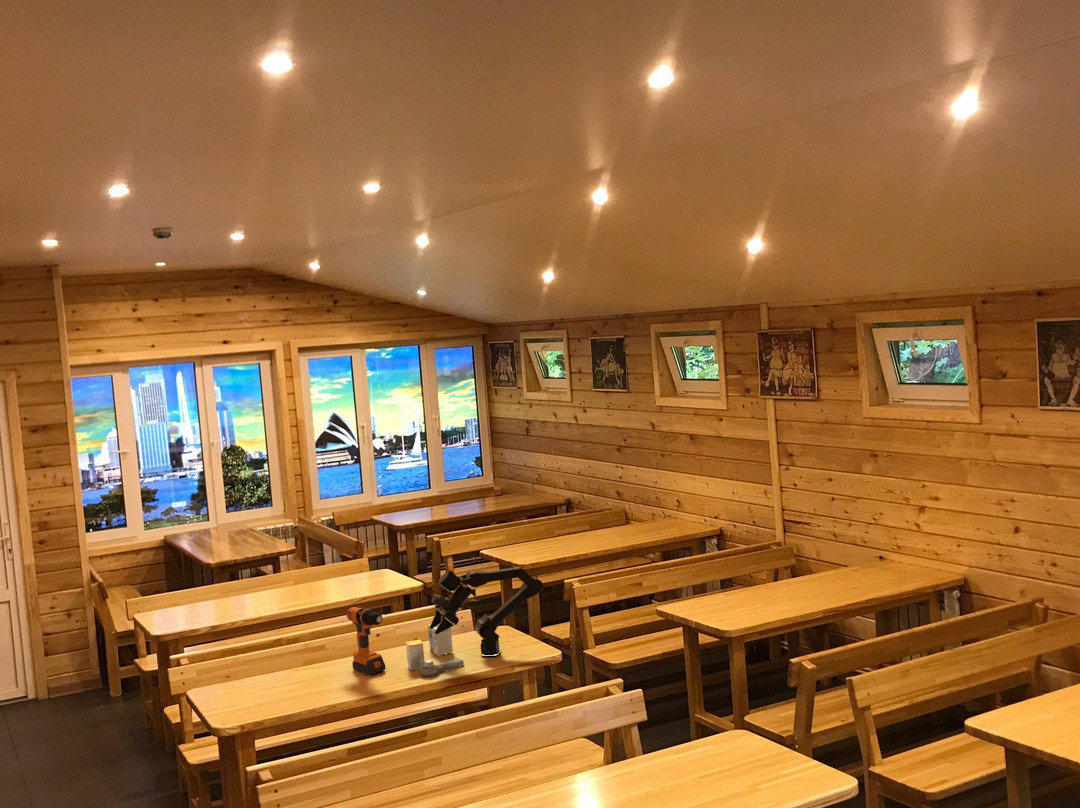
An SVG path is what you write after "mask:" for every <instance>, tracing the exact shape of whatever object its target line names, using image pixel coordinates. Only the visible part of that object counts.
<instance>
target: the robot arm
mask: <svg viewBox="0 0 1080 808" xmlns="http://www.w3.org/2000/svg"><path fill="white" fill-rule="evenodd" d="M511 579H519V580H520V581H521V582H522V584H521V585H520V587H519V590H518V591H517V592H515V594H513V595H512V596H511V597H510V598H509V599H508V600H507V601H506V602H505V603H504V604H502V605H501V606H500V607H499V608H498V609H497V610H496V611H495V612H493V613H492V614H491V615H487V614H486V613H485V614H483V615H482V617H481V618H479V619H477V623H476V624H475V627H474V629H475V632H476V633H477V634H478V635H479V636H480V637H481V638H482V639H481V640H480V641H481V643H480V645H479V646H480V654H481V655H482V654H484V655H494V654H498V653H499V652H500V651H501V649H500V641H499V639H500V635H499V634H498V633H497V632H496V631H497V629H498V628H499V625H500V624H501V622H503V621H504V620H505V619H506V618H507V617H508V616H510V614H512V613H513V612H514V611H515V610H516V609H517V608H518V607H519V606H520V605H522V604H523V603H524V602H525V601H526V600H528V599H531V598H533V597H535V596H537V595H538V594H539V593H541V592H542V591H543V590H544V584H543V582H542V581H541V580H540V579H539V578H537V576H533V575H532V576H531V575H530V574H529V573H527V571H525V569H524V568H522V567H521V566H514V567H508V568H503V569H495V570H488V571H486V570H485V571H484V570H474V569H473V570H469V571H467V573H465V574H463V575H459V576H458V575H456V574H455V573H454V572H453V571H452V570H450V569H448V570H447V572H444V573H443V574H442V575H441V576H440V578H439V579H438V585H440V586H441V587H442V588H444V589H445V590H446V591H448V592H450V593H451V592H453V593H452V594H451V595H447V597H445V595H444V596H443V595H442V594H441V595H440V594H439V595H438V594H435V593H434V594H433V595H432V597H431V601H430V602H431V603H432V604H433V605H434V608H433V609H434V616H433V618H432V621H431V623H430V624H431V625H430V628H431V629H433V628H434V627H436V626H437V625H438V624H439V626H438V627H437V629H436V631H435V634H439V633H440V632H442V631H444V630H446V629H448V628H450V627H451V628H453V627H454V626H457V625H458V623H459V621H460V619H459V617H458V616H457V612H458V611H459V610H460V609H463V608H464V603H465V602H466V601H467V600H468V599H469V597H470V596H471V595H472V596H473V597H475V598H476V597H477V593H476V591H477V590H476V589H475V588H479V587H481V586H484V585H486V584H488V583H491V582H497V581H498V582H499V581H505V580H511ZM461 583H462V584H461Z"/></svg>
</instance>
